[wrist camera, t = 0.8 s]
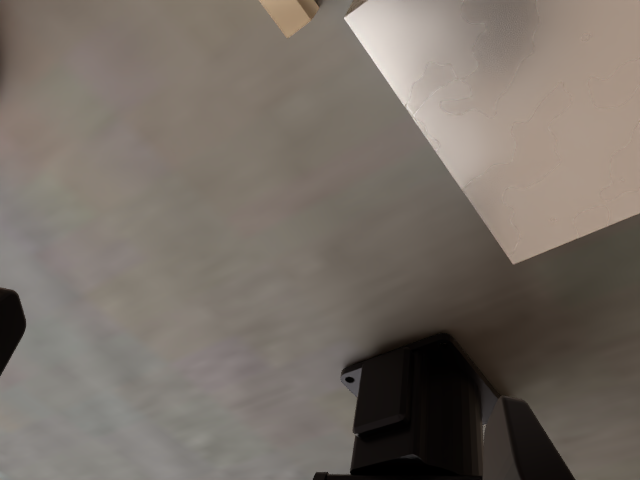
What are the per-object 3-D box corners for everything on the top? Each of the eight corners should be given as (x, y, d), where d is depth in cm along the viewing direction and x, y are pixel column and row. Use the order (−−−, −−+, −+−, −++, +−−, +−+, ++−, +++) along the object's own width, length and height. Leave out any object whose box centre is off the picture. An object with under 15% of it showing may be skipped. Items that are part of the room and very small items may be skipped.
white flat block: (762, 81, 18) (829, 135, 15) (503, 202, 22) (513, 264, 19) (647, -236, 14) (705, -252, 11) (361, -16, 19) (343, 18, 15)
